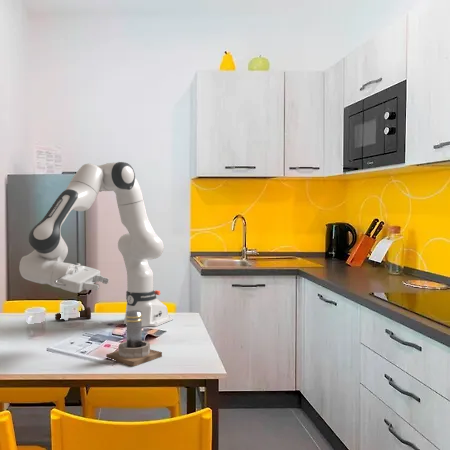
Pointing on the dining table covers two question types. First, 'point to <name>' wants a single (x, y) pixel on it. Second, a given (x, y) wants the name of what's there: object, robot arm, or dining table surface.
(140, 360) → the collar plate
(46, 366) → the dining table surface
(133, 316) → the cylinder
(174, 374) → the dining table surface
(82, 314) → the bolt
